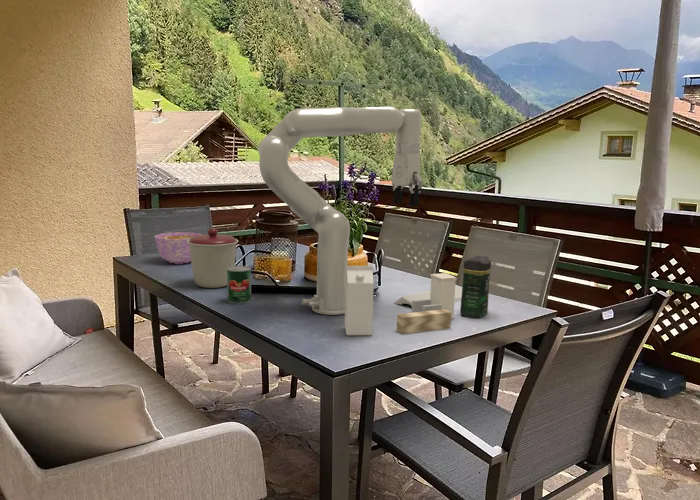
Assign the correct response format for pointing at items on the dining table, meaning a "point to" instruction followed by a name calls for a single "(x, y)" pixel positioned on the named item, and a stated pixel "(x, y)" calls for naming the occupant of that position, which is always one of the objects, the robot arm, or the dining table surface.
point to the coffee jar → (475, 286)
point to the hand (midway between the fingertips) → (405, 204)
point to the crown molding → (427, 296)
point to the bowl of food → (175, 246)
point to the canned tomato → (239, 284)
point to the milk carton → (359, 300)
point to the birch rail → (423, 321)
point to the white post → (438, 295)
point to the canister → (212, 258)
